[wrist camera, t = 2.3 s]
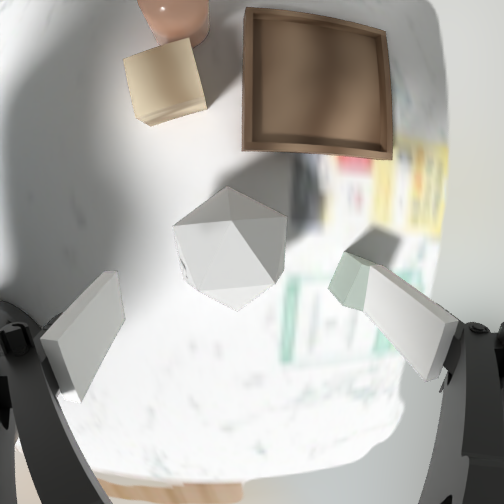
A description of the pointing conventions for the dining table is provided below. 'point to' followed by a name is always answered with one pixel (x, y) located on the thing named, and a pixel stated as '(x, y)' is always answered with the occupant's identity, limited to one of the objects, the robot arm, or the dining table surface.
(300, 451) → the dining table surface
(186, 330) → the dining table surface
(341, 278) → the grey-green block
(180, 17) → the peach rounded capsule
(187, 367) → the dining table surface
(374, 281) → the robot arm
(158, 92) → the oak block
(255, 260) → the die
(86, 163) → the dining table surface
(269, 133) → the walnut tray
